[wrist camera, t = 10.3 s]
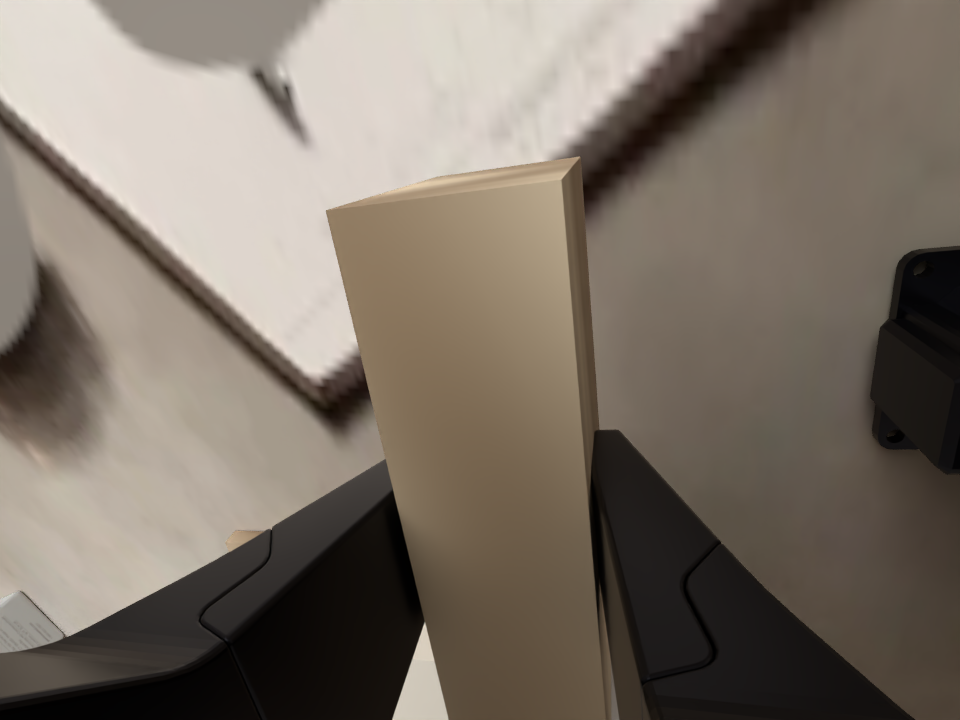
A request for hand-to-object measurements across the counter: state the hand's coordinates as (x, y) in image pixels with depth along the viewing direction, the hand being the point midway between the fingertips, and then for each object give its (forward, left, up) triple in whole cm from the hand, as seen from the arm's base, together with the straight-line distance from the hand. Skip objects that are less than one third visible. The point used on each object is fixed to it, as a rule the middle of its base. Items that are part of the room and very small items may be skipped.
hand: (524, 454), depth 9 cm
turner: (0, +2, -1) cm, 3 cm away
